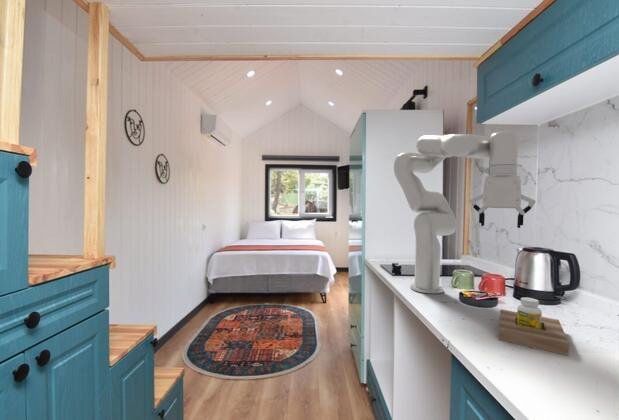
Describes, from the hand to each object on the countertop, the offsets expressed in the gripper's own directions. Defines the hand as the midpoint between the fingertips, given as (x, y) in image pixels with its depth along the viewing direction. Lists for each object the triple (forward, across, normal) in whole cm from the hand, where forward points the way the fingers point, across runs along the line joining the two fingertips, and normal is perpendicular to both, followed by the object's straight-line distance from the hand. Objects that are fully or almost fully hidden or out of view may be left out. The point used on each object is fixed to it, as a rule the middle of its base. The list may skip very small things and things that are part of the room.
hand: (500, 226), depth 96 cm
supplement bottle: (+28, +8, -11) cm, 31 cm away
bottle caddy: (+28, +8, -11) cm, 31 cm away
